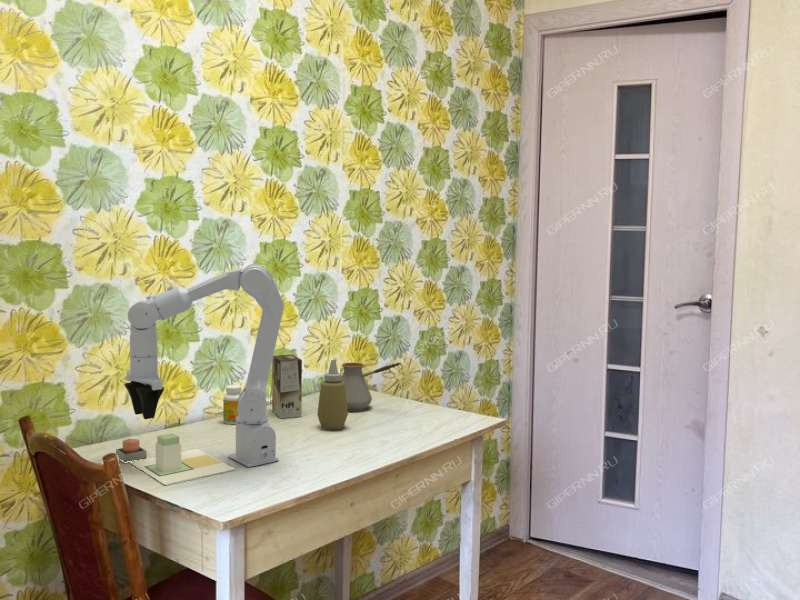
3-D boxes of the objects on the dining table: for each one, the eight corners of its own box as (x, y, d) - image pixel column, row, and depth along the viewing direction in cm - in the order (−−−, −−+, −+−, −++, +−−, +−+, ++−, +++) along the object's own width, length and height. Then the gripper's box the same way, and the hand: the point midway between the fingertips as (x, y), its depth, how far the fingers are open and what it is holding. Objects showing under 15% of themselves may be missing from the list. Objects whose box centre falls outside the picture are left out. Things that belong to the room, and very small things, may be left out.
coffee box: (302, 416, 211) (303, 359, 209) (279, 418, 208) (280, 360, 207) (292, 409, 219) (293, 353, 218) (270, 410, 217) (271, 355, 215)
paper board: (235, 470, 165) (235, 468, 165) (164, 485, 155) (164, 484, 155) (197, 450, 179) (197, 448, 179) (129, 463, 168) (129, 461, 168)
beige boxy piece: (181, 468, 165) (181, 436, 164) (163, 472, 162) (163, 440, 161) (173, 463, 168) (173, 432, 167) (155, 467, 165) (155, 435, 164)
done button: (142, 452, 171) (142, 441, 171) (126, 455, 169) (126, 444, 169) (135, 448, 174) (135, 437, 174) (120, 451, 172) (120, 440, 171)
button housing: (146, 459, 171) (146, 450, 171) (124, 463, 168) (124, 454, 168) (137, 453, 175) (137, 445, 175) (115, 457, 172) (115, 449, 172)
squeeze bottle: (350, 424, 205) (351, 358, 203) (344, 432, 197) (346, 363, 195) (320, 422, 205) (321, 356, 203) (314, 430, 197) (314, 362, 195)
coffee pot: (325, 409, 219) (325, 358, 218) (344, 401, 230) (345, 352, 228) (392, 419, 211) (393, 366, 209) (408, 410, 221) (410, 359, 219)
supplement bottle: (219, 422, 203) (219, 386, 202) (232, 418, 208) (232, 383, 207) (234, 425, 200) (234, 389, 199) (248, 421, 205) (248, 385, 204)
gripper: (113, 352, 170) (113, 411, 171) (139, 362, 159) (140, 426, 160) (143, 349, 174) (144, 407, 176) (171, 359, 164) (171, 420, 165)
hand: (144, 416), depth 168 cm, fingers open, 4 cm apart
